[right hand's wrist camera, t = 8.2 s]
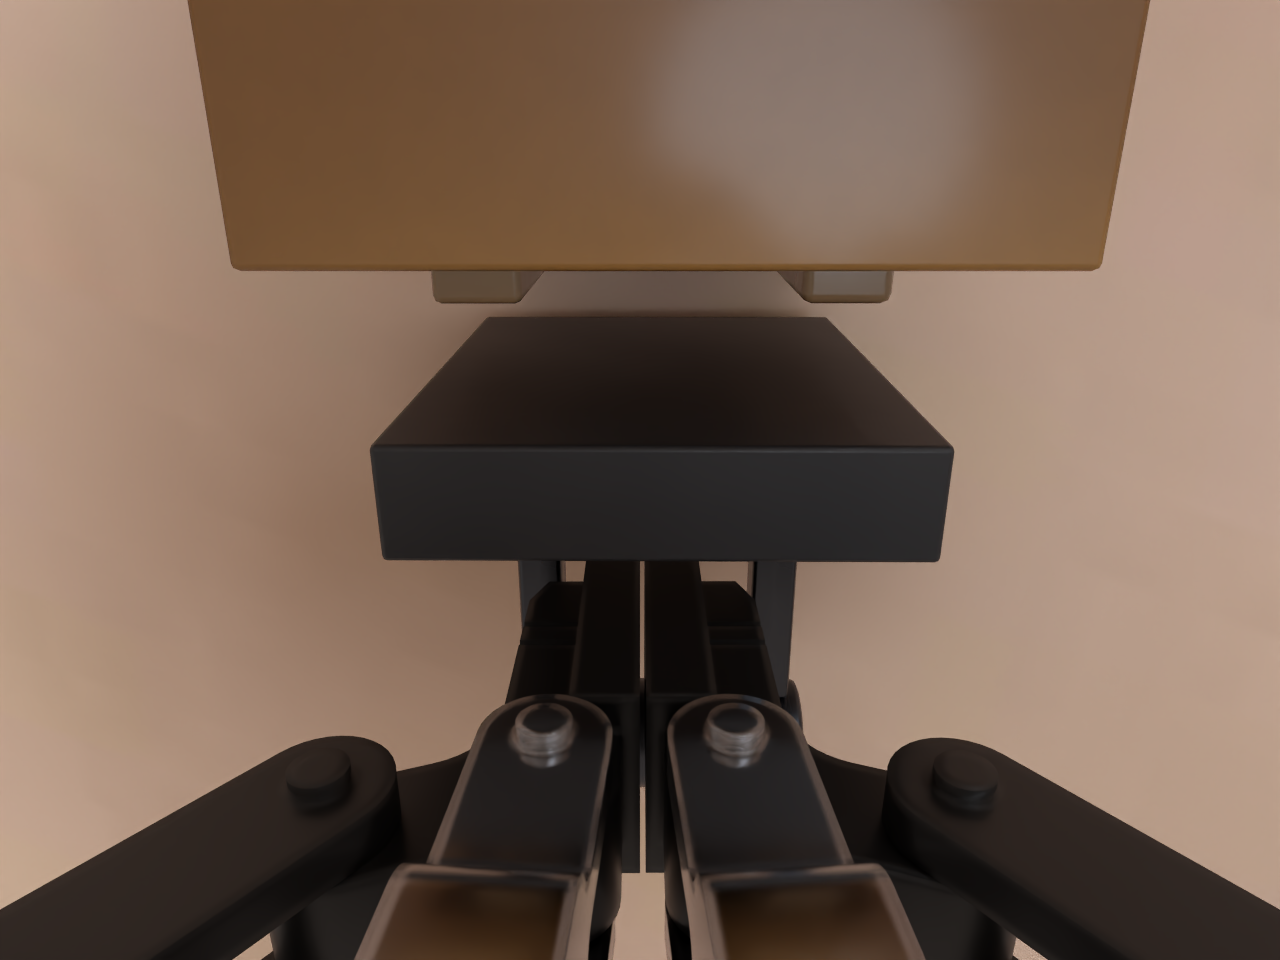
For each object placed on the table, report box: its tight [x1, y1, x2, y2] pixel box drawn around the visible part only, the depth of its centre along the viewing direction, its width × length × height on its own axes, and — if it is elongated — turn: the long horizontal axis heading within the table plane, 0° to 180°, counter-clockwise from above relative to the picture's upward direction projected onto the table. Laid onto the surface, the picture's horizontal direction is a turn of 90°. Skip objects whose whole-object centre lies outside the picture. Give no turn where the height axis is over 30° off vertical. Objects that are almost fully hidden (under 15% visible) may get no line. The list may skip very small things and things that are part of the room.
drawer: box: [370, 271, 954, 787], centre depth 10 cm, size 20×5×6 cm, turn 0°
